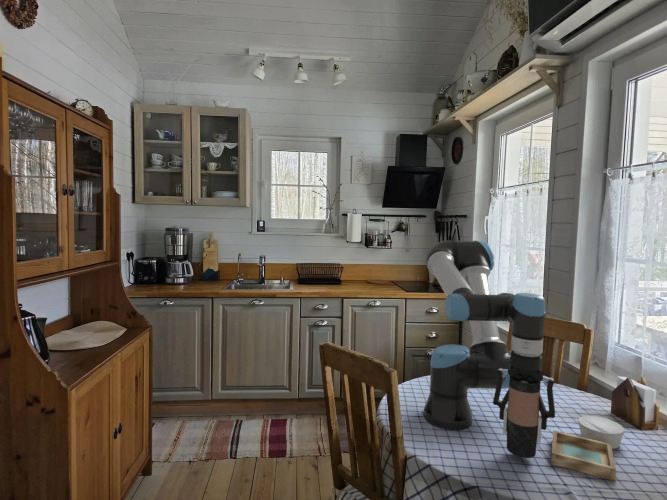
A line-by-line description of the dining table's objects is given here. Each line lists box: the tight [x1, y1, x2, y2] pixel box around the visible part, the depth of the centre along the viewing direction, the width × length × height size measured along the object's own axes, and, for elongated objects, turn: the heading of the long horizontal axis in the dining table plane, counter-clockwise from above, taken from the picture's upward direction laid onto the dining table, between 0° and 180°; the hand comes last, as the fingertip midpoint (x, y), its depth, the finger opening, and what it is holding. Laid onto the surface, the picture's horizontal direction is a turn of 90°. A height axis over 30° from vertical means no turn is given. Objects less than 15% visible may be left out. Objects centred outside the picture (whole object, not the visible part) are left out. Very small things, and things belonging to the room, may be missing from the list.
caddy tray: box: [550, 429, 617, 482], centre depth 109 cm, size 14×14×3 cm
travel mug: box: [506, 377, 542, 459], centre depth 108 cm, size 8×8×20 cm
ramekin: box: [577, 415, 625, 450], centre depth 119 cm, size 11×11×5 cm
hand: (521, 435), depth 109 cm, fingers closed on travel mug, 8 cm apart
